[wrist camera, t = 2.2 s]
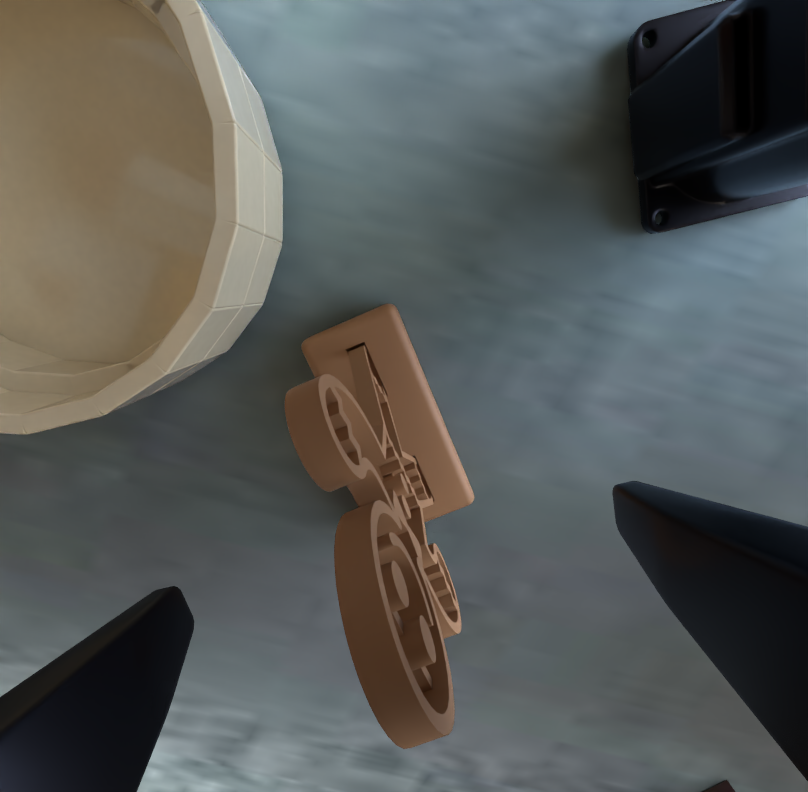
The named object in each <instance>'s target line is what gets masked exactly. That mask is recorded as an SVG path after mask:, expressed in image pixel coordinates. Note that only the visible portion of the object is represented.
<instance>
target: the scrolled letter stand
mask: <svg viewBox="0 0 808 792" xmlns="http://www.w3.org/2000/svg"><path fill="white" fill-rule="evenodd" d="M301 348H302V352H303V354H304V356H305V358H306V360H307V362H308V364H309V366H310V368H311V370H312V372H313V374H314V376H315V378H314V379H312V380H310V381H307V382H305V383H303V384H300V385H298V386H295V387H293V388H292V389H290V390H289V391H288V392H287V394H286V397H285V414H286V420H287V425H288V428H289V432H290V435H291V438H292V441H293V444H294V446H295V449H296V451H297V453H298V455H299V457H300V459H301V462H302V463H303V465H304V467H305V469H306V470H307V472H308V473H309V475H310V476H311V478H312V479H313V480H314V481H315V482H316V484H317V485H318V486H319V487H321V488H322V489H323V490H325V491H328V492H330V491H334V490H336V489H339V488H341V487H344V486H347V487H348V488H349V490H350V491H351V493H352V495H353V497H354V499H355V501H356V503H357V505H358V507H359V508H357V509H354V510H352V511H349V512H347V513H345V514H344V515H343V516H342V517H341V519H340V521H339V523H338V526H337V530H336V535H335V547H334V559H335V576H336V587H337V593H338V600H339V606H340V612H341V616H342V621H343V625H344V630H345V635H346V638H347V642H348V645H349V649H350V653H351V656H352V660H353V663H354V666H355V669H356V672H357V675H358V677H359V680H360V683H361V686H362V688H363V690H364V693H365V695H366V698H367V700H368V703H369V705H370V707H371V709H372V711H373V713H374V715H375V716H376V718H377V720H378V722H379V724H380V725H381V727H382V728H383V730H384V731H385V733H386V734H387V736H388V737H389V738H390V739H391V740H392V741H393V742H394V743H395V744H396V745H397V746H399V747H401V748H403V749H407V748H412V747H415V746H417V745H420V744H423V743H426V742H429V741H432V740H435V739H438V738H440V737H443V736H446V735H449V734H450V732H451V731H452V728H453V724H454V713H455V710H454V694H453V685H452V679H451V673H450V667H449V662H448V657H447V652H446V648H445V644H444V638H447V637H450V636H452V635H455V634H458V633H460V631H461V617H460V610H459V605H458V601H457V596H456V593H455V589H454V586H453V583H452V580H451V577H450V574H449V572H448V569H447V566H446V564H445V561H444V559H443V557H442V555H441V552H440V550H439V549H438V547H437V545H436V544H435V543H433V544H431V545H428V544H427V538H426V531H425V524H424V522H427V521H429V520H432V519H434V518H437V517H440V516H442V515H445V514H447V513H450V512H452V511H455V510H458V509H460V508H463V507H465V506H468V505H470V504H471V503H472V502H473V500H474V493H473V491H472V488H471V486H470V483H469V481H468V479H467V476H466V474H465V471H464V469H463V467H462V464H461V462H460V459H459V457H458V454H457V452H456V450H455V447H454V445H453V442H452V440H451V438H450V435H449V433H448V430H447V428H446V426H445V423H444V421H443V418H442V416H441V413H440V411H439V409H438V406H437V404H436V401H435V399H434V397H433V394H432V392H431V389H430V387H429V384H428V382H427V380H426V377H425V375H424V372H423V370H422V368H421V365H420V363H419V360H418V358H417V355H416V353H415V351H414V348H413V346H412V343H411V341H410V339H409V336H408V334H407V331H406V329H405V326H404V324H403V322H402V319H401V317H400V314H399V312H398V310H397V308H396V307H395V306H394V305H392V304H384V305H382V306H380V307H377V308H375V309H373V310H371V311H368V312H366V313H364V314H361V315H359V316H357V317H354V318H352V319H350V320H347V321H345V322H343V323H340V324H338V325H336V326H333V327H331V328H329V329H326V330H324V331H322V332H320V333H317V334H315V335H313V336H310V337H309V338H307V339H305V340H304V342H303V343H302V346H301Z"/></svg>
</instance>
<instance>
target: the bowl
mask: <svg viewBox="0 0 808 792" xmlns="http://www.w3.org/2000/svg"><path fill="white" fill-rule="evenodd" d="M282 241H283V175H282V168H281V164H280V161H279V157H278V154H277V150H276V147H275V143H274V140H273V136H272V133H271V129H270V126H269V122H268V119H267V116H266V112H265V109H264V105H263V102H262V99H261V97H260V95H259V93H258V91H257V90H256V88H255V86H254V85H253V83H252V82H251V80H250V78H249V77H248V75H247V73H246V72H245V70H244V68H243V67H242V65H241V64H240V62H239V60H238V59H237V57H236V55H235V54H234V52H233V51H232V49H231V47H230V46H229V44H228V42H227V41H226V39H225V37H224V36H223V34H222V33H221V31H220V29H219V28H218V26H217V25H216V23H215V22H214V20H213V19H212V17H211V16H210V14H209V12H208V11H207V9H206V8H205V6H204V5H203V3H202V2H201V0H0V433H7V434H24V435H25V434H33V433H37V432H41V431H45V430H49V429H53V428H57V427H61V426H65V425H69V424H73V423H77V422H81V421H85V420H89V419H94V418H98V417H102V416H104V415H106V414H109V413H111V412H113V411H115V410H118V409H120V408H122V407H124V406H127V405H129V404H131V403H133V402H136V401H138V400H140V399H142V398H145V397H147V396H149V395H151V394H154V393H156V392H158V391H160V390H163V389H165V388H167V387H170V386H172V385H174V384H176V383H179V382H181V381H183V380H184V379H186V378H187V377H189V376H190V375H192V374H193V373H195V372H196V371H198V370H200V369H201V368H203V367H204V366H206V365H207V364H209V363H210V362H212V361H213V360H215V359H216V358H218V357H219V356H221V355H222V354H224V353H226V352H227V350H229V349H230V348H231V346H232V345H233V344H234V342H235V341H236V340H237V338H238V337H239V336H240V334H241V333H242V332H243V330H244V329H245V328H246V326H247V325H248V324H249V323H250V321H251V320H252V319H253V317H254V316H255V315H256V313H257V312H258V311H259V309H260V308H261V307H262V305H263V303H264V301H265V297H266V294H267V291H268V288H269V285H270V282H271V279H272V276H273V272H274V269H275V266H276V263H277V260H278V257H279V254H280V251H281V247H282V243H281V242H282Z"/></svg>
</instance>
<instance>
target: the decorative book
mask: <svg viewBox="0 0 808 792" xmlns="http://www.w3.org/2000/svg"><path fill="white" fill-rule="evenodd" d="M704 792H735V791H734V789H733V788H732V786H731V785H730V784H729V782H728V781H727V780H726V781H724V782H722V783H720V784H718V785H716V786H714V787H712V788H710V789H708V790H706V791H704Z"/></svg>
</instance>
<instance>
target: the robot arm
mask: <svg viewBox="0 0 808 792" xmlns="http://www.w3.org/2000/svg"><path fill="white" fill-rule="evenodd" d="M642 37H646V38H647V39H648V40H649V43H650V47H649V48H645V47H644V46H643V44H642ZM627 52H628V64H629V76H630V88H631V95H630V97H629V99H628V104H629V116H630V128H631V140H632V152H633V163H634V174H635V176H636V177H637V178H638V185H639V197H640V209H641V221H642V226H643V228H644V230H645V231H646V232H648V233H651V234H656V233H661V232H665V231H669V230H673V229H677V228H681V227H685V226H689V225H693V224H697V223H701V222H705V221H709V220H713V219H717V218H721V217H725V216H729V215H733V214H737V213H741V212H745V211H749V210H753V209H757V208H761V207H765V206H769V205H773V204H777V203H781V202H785V201H789V200H793V199H797V198H801V197H805V196H808V0H725V1H722V2H718V3H714V4H710V5H707V6H703V7H699V8H695V9H692V10H688V11H684V12H680V13H676V14H673V15H669V16H665V17H661V18H658V19H654V20H650V21H647V22H645V23H643V24H642V25H641V26H640V27H639V28H638V29H637V30H636V31H635V32H634V34H633V35H632V36H631V37H630V39H629V42H628V48H627ZM658 212H659V213H660V214H661V216H662V221H661V223H660V224H659V225H658V224H657V223H656V221H655V216H656V214H657V213H658ZM613 501H614V510H615V518H616V524H617V527H618V530H619V532H620V534H621V536H622V537H623V539H624V540H625V542H626V543H627V545H628V546H629V548H630V549H631V551H632V553H633V554H634V556H635V557H636V559H637V560H638V562H639V563H640V565H641V566H642V568H643V570H644V571H645V573H646V574H647V576H648V577H649V579H650V580H651V582H652V583H653V585H654V587H655V588H656V590H657V591H658V593H659V594H660V596H661V597H662V599H663V600H664V601H665V603H666V604H667V606H668V607H669V608H670V609H671V611H672V612H673V613H674V615H675V616H676V617H677V618H678V620H679V621H680V622H681V623H682V625H683V626H684V627H685V628H686V630H687V631H688V632H689V633H690V635H691V636H692V637H693V638H694V640H695V641H696V642H697V643H698V645H699V646H700V647H701V648H702V650H703V651H704V652H705V653H706V655H707V656H708V657H709V658H710V660H711V661H712V662H713V663H714V665H715V666H716V667H717V669H718V670H719V671H720V672H721V674H722V675H723V676H724V677H725V679H726V680H727V681H728V682H729V684H730V685H731V686H732V687H733V689H734V690H735V691H736V692H737V694H738V695H739V696H740V697H741V699H742V700H743V701H744V702H745V704H746V705H747V706H748V707H749V709H750V710H751V711H752V712H753V714H754V715H755V716H756V717H757V719H758V720H759V721H760V722H761V724H762V725H763V726H764V727H765V729H766V730H767V731H768V732H769V734H770V735H771V736H772V737H773V739H774V740H775V741H776V742H777V744H778V745H779V746H780V747H781V749H782V750H783V751H784V752H785V754H786V755H787V756H788V757H789V759H790V760H791V761H792V762H793V764H794V765H795V766H796V767H797V769H798V770H799V771H800V772H801V774H802V775H803V776H804V777H805V779H806V780H807V781H808V527H807V526H803V525H799V524H795V523H791V522H788V521H784V520H780V519H776V518H773V517H769V516H765V515H761V514H758V513H754V512H750V511H746V510H743V509H739V508H735V507H731V506H728V505H724V504H720V503H716V502H713V501H709V500H705V499H701V498H698V497H694V496H690V495H687V494H683V493H679V492H675V491H672V490H668V489H664V488H660V487H657V486H653V485H649V484H645V483H642V482H638V481H630V482H626V483H622V484H617V485H615V486H614V488H613ZM193 630H194V619H193V615H192V613H191V611H190V609H189V607H188V605H187V602H186V600H185V598H184V596H183V594H182V592H181V590H180V589H179V588H178V587H175V586H172V587H167V588H163V589H158V590H155V591H153V592H152V593H150V594H149V595H147V596H146V597H145V598H143V599H142V600H140V601H139V602H137V603H136V604H134V605H133V606H132V607H130V608H129V609H127V610H126V611H124V612H123V613H121V614H120V615H119V616H117V617H116V618H114V619H113V620H111V621H110V622H108V623H107V624H105V625H104V626H103V627H101V628H100V629H98V630H97V631H95V632H94V633H92V634H91V635H90V636H88V637H87V638H85V639H84V640H82V641H81V642H79V643H78V644H77V645H75V646H74V647H72V648H71V649H69V650H68V651H66V652H65V653H64V654H62V655H61V656H59V657H58V658H56V659H55V660H53V661H52V662H50V663H49V664H48V665H46V666H45V667H43V668H42V669H40V670H39V671H37V672H36V673H35V674H33V675H32V676H30V677H29V678H27V679H26V680H24V681H23V682H22V683H20V684H19V685H17V686H16V687H14V688H13V689H11V690H10V691H8V692H7V693H6V694H4V695H3V696H1V697H0V792H137V790H138V787H139V785H140V782H141V780H142V777H143V775H144V772H145V770H146V767H147V765H148V762H149V760H150V757H151V755H152V752H153V750H154V747H155V745H156V742H157V739H158V737H159V734H160V732H161V729H162V727H163V724H164V722H165V719H166V716H167V714H168V711H169V708H170V705H171V702H172V699H173V696H174V692H175V689H176V686H177V683H178V679H179V676H180V673H181V670H182V666H183V663H184V660H185V656H186V653H187V650H188V647H189V643H190V640H191V637H192V634H193Z"/></svg>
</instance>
